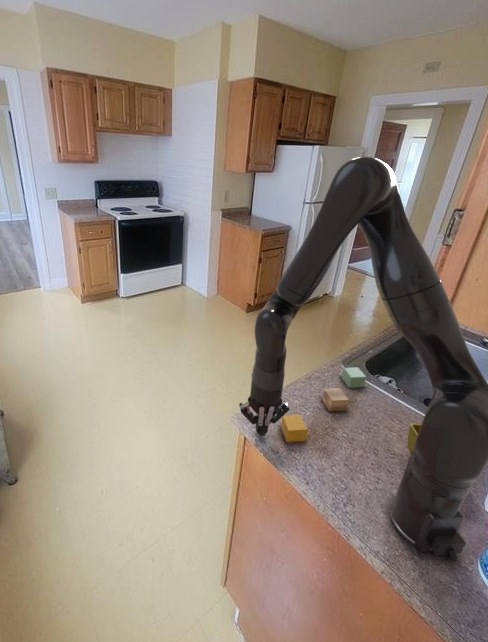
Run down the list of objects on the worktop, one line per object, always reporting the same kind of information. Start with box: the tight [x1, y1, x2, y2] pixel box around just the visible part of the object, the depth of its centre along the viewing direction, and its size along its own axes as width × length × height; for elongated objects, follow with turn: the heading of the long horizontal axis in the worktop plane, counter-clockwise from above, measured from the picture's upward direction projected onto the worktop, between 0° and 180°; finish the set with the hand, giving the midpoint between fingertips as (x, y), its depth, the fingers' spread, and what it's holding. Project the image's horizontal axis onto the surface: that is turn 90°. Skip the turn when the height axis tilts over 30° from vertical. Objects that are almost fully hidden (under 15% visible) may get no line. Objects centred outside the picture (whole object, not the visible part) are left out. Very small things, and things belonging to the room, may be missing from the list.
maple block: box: [321, 387, 349, 412], centre depth 94 cm, size 5×5×4 cm
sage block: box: [341, 367, 367, 389], centre depth 104 cm, size 5×5×4 cm
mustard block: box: [280, 414, 308, 443], centre depth 84 cm, size 5×5×4 cm
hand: (261, 433), depth 84 cm, fingers closed
